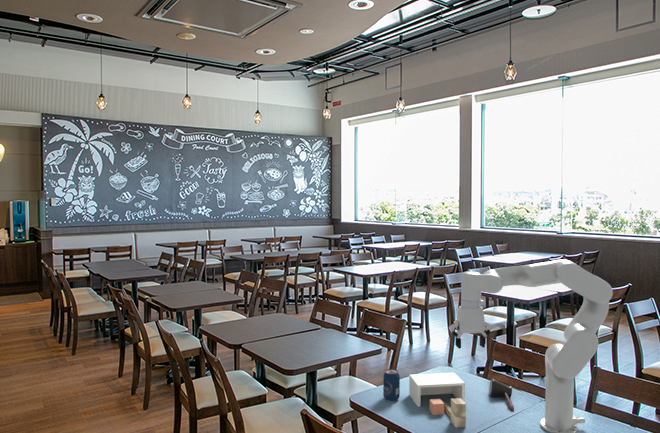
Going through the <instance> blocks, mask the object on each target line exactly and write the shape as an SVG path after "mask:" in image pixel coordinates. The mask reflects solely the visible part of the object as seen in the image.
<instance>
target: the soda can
mask: <svg viewBox="0 0 660 433" xmlns="http://www.w3.org/2000/svg"><path fill="white" fill-rule="evenodd" d="M400 378H401V376H400V374H399V371H398V369H395V368H394V369H393V368H387V369H385V370H384V373H383V384H382V385H383V391H382V392H383V393H382V394H383V395H382V396H383V398H384V400H385V401H386V402H397V401H398V400H399V398H400V393H401V392H400V386H401V385H400V384H401V382H400Z"/></svg>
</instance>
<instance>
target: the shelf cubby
mask: <svg viewBox="0 0 660 433" xmlns="http://www.w3.org/2000/svg"><path fill="white" fill-rule="evenodd" d="M408 376H409V381H408V382H409V384H408V386H409V387H408V388H409V389H408V393H409V397H410V398H411V399H412V401H413V403H414V404H415V405H416V406H417V408H418V407H419V408H420V407H421V396H430V395H431V396H432V395H433V396H434V395H449V394H452V395H453V396H454V397H455V399H456V398H461V399H462V400H463V401H464V402H465V403H466V383H465V381H463V380H462V379H461V378H460V377H459V375H457V374H456V373H455V372H452V371H451V372H436V373H434V372H432V373H418V374H417V373H416V374H413V373H412V374H409V375H408Z"/></svg>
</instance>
